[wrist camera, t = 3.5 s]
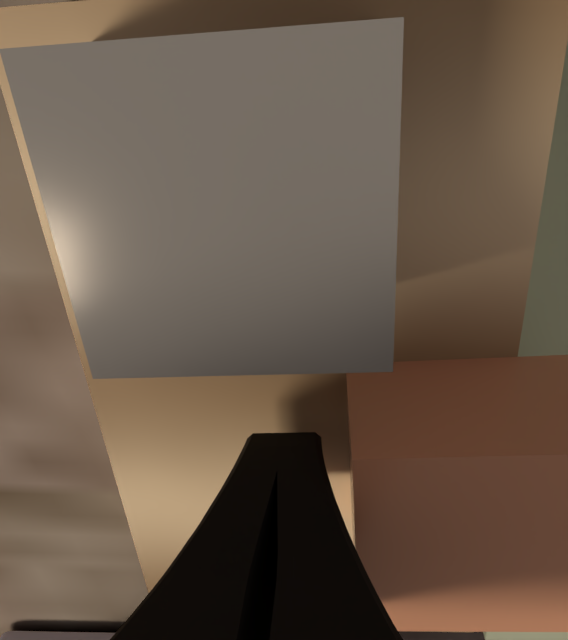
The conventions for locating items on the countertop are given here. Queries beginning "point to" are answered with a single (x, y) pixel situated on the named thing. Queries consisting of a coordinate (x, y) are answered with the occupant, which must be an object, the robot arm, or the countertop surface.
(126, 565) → the countertop surface
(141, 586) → the countertop surface
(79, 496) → the countertop surface
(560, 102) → the box
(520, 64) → the birch plate
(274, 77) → the slate tile
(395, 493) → the terracotta tile
